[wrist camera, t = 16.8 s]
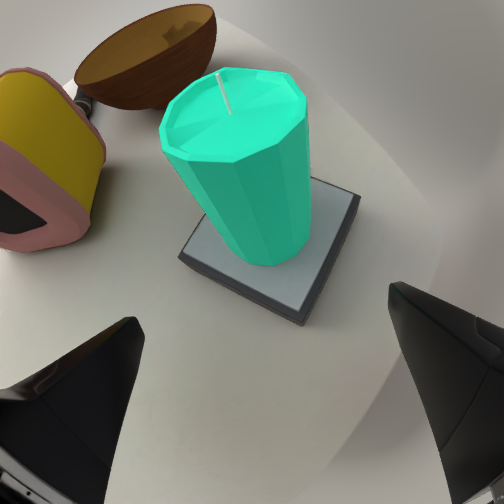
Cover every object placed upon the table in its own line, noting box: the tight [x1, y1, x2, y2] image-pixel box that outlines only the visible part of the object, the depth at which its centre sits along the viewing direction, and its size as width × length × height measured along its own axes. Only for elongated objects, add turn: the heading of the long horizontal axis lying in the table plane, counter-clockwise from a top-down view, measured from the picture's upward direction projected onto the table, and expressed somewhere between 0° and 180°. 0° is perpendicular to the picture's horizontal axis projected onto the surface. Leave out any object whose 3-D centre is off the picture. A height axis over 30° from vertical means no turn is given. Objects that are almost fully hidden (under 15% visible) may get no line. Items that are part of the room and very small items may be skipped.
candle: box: [159, 67, 311, 266], centre depth 14 cm, size 6×6×12 cm
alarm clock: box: [0, 67, 106, 252], centre depth 20 cm, size 18×11×19 cm, turn 93°
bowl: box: [74, 4, 217, 110], centre depth 28 cm, size 18×18×10 cm
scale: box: [178, 176, 361, 326], centre depth 21 cm, size 10×10×3 cm
